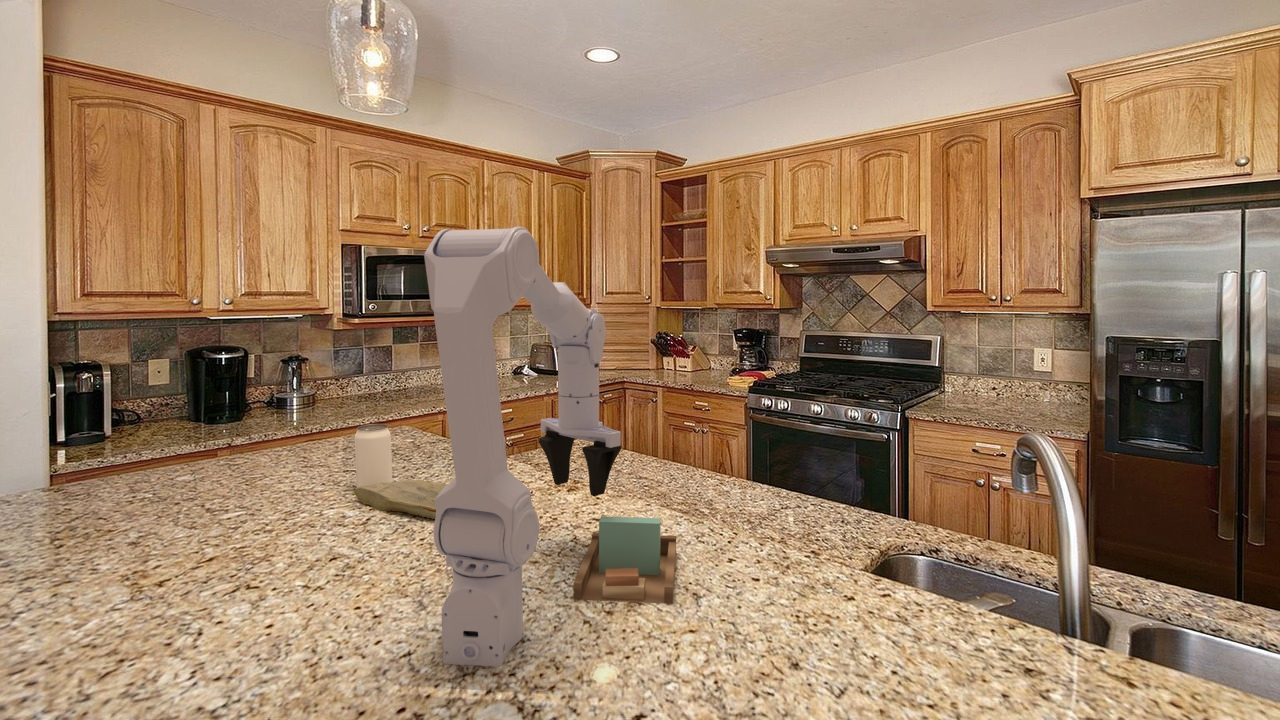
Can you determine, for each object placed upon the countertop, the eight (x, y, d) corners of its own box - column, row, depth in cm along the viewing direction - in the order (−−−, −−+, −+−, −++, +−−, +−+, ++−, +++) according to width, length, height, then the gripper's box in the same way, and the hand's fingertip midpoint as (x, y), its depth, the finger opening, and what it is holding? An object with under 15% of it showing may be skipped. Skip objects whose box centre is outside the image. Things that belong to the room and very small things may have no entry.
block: (659, 575, 83) (659, 523, 82) (599, 572, 84) (599, 521, 83) (660, 568, 85) (660, 518, 84) (601, 566, 86) (601, 516, 85)
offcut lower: (643, 600, 76) (643, 587, 76) (602, 598, 77) (602, 585, 76) (645, 590, 79) (645, 578, 79) (605, 588, 79) (605, 576, 79)
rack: (672, 609, 76) (672, 583, 75) (573, 605, 77) (573, 579, 76) (676, 558, 90) (676, 536, 90) (593, 555, 91) (593, 532, 91)
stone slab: (400, 472, 124) (522, 488, 110) (401, 493, 124) (523, 511, 111) (345, 488, 113) (474, 508, 99) (346, 511, 113) (475, 534, 100)
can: (356, 484, 125) (353, 425, 124) (391, 480, 127) (389, 422, 126) (356, 494, 119) (354, 431, 118) (393, 489, 122) (391, 428, 120)
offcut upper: (638, 585, 77) (638, 576, 76) (605, 586, 76) (605, 576, 76) (637, 577, 79) (637, 568, 79) (605, 578, 79) (605, 568, 78)
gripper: (636, 396, 87) (635, 492, 88) (565, 386, 97) (566, 473, 98) (599, 402, 82) (599, 505, 83) (529, 391, 91) (530, 483, 93)
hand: (579, 488), depth 90 cm, fingers open, 7 cm apart
